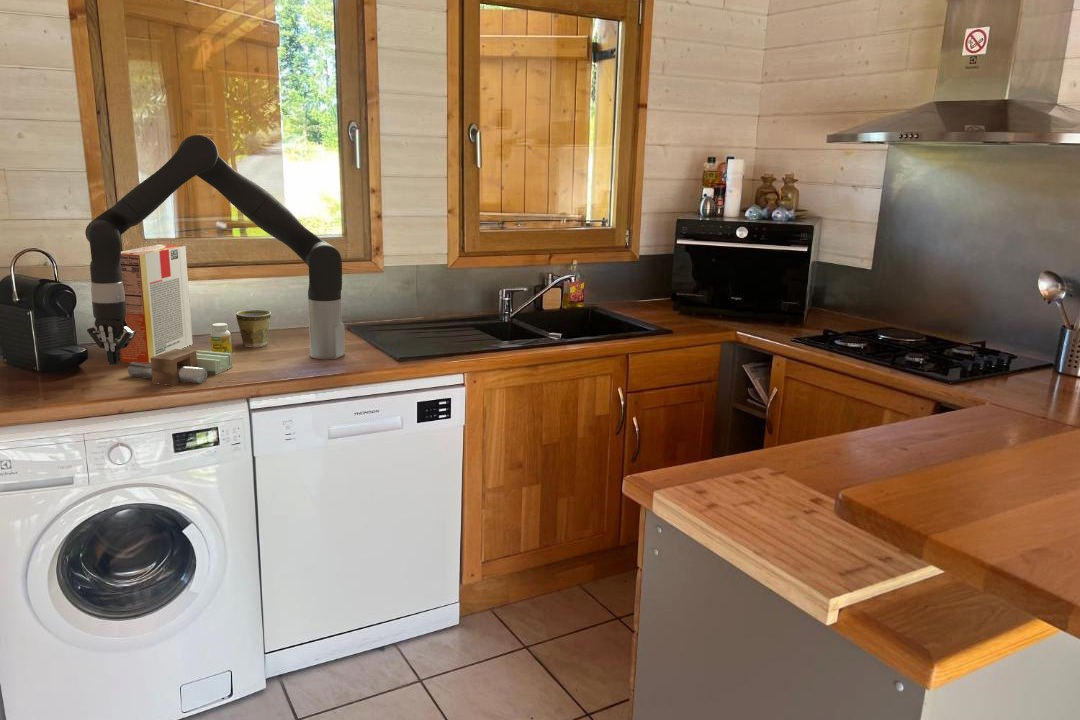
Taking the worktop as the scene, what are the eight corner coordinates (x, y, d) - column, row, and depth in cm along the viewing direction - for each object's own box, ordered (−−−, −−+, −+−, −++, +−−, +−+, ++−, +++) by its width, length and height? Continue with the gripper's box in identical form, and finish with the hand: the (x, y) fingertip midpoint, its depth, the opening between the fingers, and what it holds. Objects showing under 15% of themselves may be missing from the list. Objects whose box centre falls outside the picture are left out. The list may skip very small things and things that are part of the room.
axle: (207, 382, 202) (207, 367, 202) (197, 384, 199) (197, 369, 198) (138, 375, 206) (138, 360, 205) (128, 377, 202) (127, 362, 201)
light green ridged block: (232, 367, 215) (231, 353, 214) (215, 374, 208) (214, 360, 207) (199, 364, 217) (198, 350, 216) (181, 371, 209) (180, 357, 208)
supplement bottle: (233, 354, 229) (231, 322, 226) (230, 358, 224) (228, 326, 221) (213, 354, 227) (211, 322, 225) (210, 359, 222) (208, 326, 220)
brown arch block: (197, 375, 207) (196, 350, 205) (173, 385, 197) (171, 359, 195) (177, 373, 208) (175, 348, 206) (152, 383, 198) (150, 357, 196)
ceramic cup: (276, 346, 239) (274, 314, 237) (242, 350, 234) (240, 317, 231) (264, 337, 250) (262, 307, 247) (231, 340, 244) (229, 309, 242)
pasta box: (167, 342, 238) (159, 244, 231) (192, 344, 238) (185, 245, 230) (121, 361, 216) (110, 253, 209) (149, 363, 215) (139, 255, 208)
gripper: (141, 298, 202) (146, 363, 207) (96, 294, 204) (102, 358, 209) (121, 303, 195) (127, 370, 199) (74, 299, 197) (81, 365, 202)
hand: (114, 364), depth 204 cm, fingers closed
